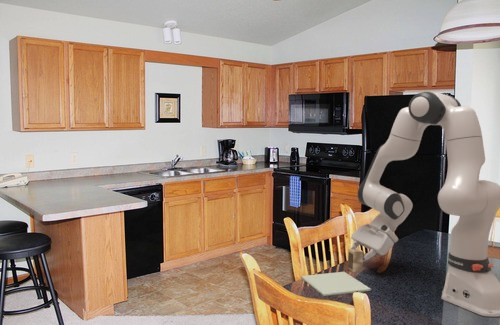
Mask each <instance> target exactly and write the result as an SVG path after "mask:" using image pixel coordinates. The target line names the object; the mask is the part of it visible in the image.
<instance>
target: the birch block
mask: <svg viewBox="0 0 500 325" xmlns="http://www.w3.org/2000/svg"><path fill="white" fill-rule="evenodd" d="M347 253H348V254H347V255H348V256H347V270H348V271H350V272H352V273H359V272H360V273H361V272H363V265H364V264H363V260H364V258H363V255H364V251H363V250H361V249H359V248H356V249H350V248H349V249H348V252H347Z"/></svg>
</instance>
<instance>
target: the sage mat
mask: <svg viewBox="0 0 500 325" xmlns="http://www.w3.org/2000/svg"><path fill="white" fill-rule="evenodd" d="M300 278H301V279H302V280H303V281H304V282H306V284H308V285H309V286H310V287H311V288H313V289H315V290H316V291H317V293H319V294H320V295H322V296H323V297H328V296H334V295H335V296H336V295H343V294H352V293H353V292H354V293H356V292H355V291H358V292H357V293H361V292H362V293H363V292H368V291H372V288H371V287H369V286H368V285H365V284H364V283H363V282H361V281H360V280H358V279H356V278H355V277H353V276H351V275H350V274H348V273H347V272H345V271H339V272H338V271H337V272H328V273H318V274H311V275H310V274H308V275H300Z"/></svg>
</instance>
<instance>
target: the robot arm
mask: <svg viewBox="0 0 500 325" xmlns="http://www.w3.org/2000/svg"><path fill="white" fill-rule="evenodd" d="M428 126H433V127H436V126H437V127H438V126H440V127H441V128H442V130H443V132H444V138H445V147H446V155H447V156H446V157H447V170H446V171H447V173H446V178H445V181H444V184H443V186H442V188H441V189H440V190H439V191H438V194H437V202H438V205H439V208H440V209H441V210H442V211H443V212H444V213H445V214H447V215H451V216H458V217H459V218H458V220H457V222H456V224H455V225H454V226H453V227H452V229H451V233H450V244H449V247H450V248H449V252H448V256H447V264H448V268H447V271H446V276H445V281H444V282H445V283H444V285H443V289H442V290H441V297H440V298H441V300H442V301H445V302H447V303H450V304H453V305H455V306H458V307H460V308H462V309H464V310H467V311H469V312H472V313H475V314H477V315H480V316H482V317H492V318H493V317H500V280H499V279H498V278H497V277H496V276H495V274H493V272H492V268H494V265H495V263H492V262H491V263H490V261H489V258H488V250H489V247H488V246H489V240H490V239H489V238H490V233H491V229H492V226H493V223H494V220H495V217H496V216H497V213H498V211H499V209H500V184H499V183H496V182H495V181H494V182H493V181H491V180H485V179H480V173H481V169H482V168H483V166H484V164H485V162H486V154H485V147H484V140H483V133H482V129H481V124H480V121H479V118H478V115H477V113H476V111H475V110H474V108H472V107H469V106H465V105H464V106H462V105H461V103H460V101H459V99H457V98H456V97H454V96H451V95H449V94H448V95H447V94H443V93H441V92H431V91H423V92H418V93H416V94H415V95H413V97H411V99H410V100H409V103H408V106H406V107H403V108H401V109H400V110H399V111H398V113H397V116H396V117H395V120H394V121H393V125H392V127H391V130H390V133H389V136H388V139H387V140H386V141H385V143H383V144H381V145H380V146H379V147H378V149H377V150H376V153H375V154H374V157H373V158H372V160H371V163H370V165H369V167H368V170H367V171H366V174H365V177H364V178H363V181H362V182H361V183H360V185H359V186H358V189H357V199H358V201H359V203H361V204H362V205H365V206H367V207H370V208H371V209H373V210H374V211H377V212H379V213H378V214H377V215H376V216H375V217H374V219H373V220H372V221H371V222H370V223H367V224H362V225H360V226H359V227H358V228H357V229H356V230H355V231H354V232H353V233H352V234H351V236H350V237H351V239H352V240H353V242H352V245H351V247H350V248H349V249H357V247H360V246H362V247H364V248H366V249H368V250H369V252H367V253H363V260H366V261H369V259H370V258H372V257H374V256H375V255H380V256H385V255H386V254H387V253H389V251H390V250H391V249H392V248H393V247H394V244H395V243H396V244H397V242H398V241H399V238H398V236H397V235H396V234H395V231H396V230H397V228H398V226H399V225H401V224H402V223H403V222H404V221H405V220H406V219H407V217H408V216H409V214H410V213H411V212H412V209H413V206H414V205H413V202H412V200H411V199H410V198H409V197H408V196H407V195H405V193H404V194H403V193H398V192H396V191H394V190H392V189H391V188H387V187H385V186H384V185H381V183H380V180H381V177H382V175H383V173H384V171H385V169H386V167H387V165H388V164H389V163H391V162H393V161H404V160H408V159H410V158H412V157H414V156H415V155H416V153H417V152H418V150H419V147H420V144H421V141H422V137H423V134H424V131H425V130H426V128H427V127H428Z"/></svg>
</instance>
